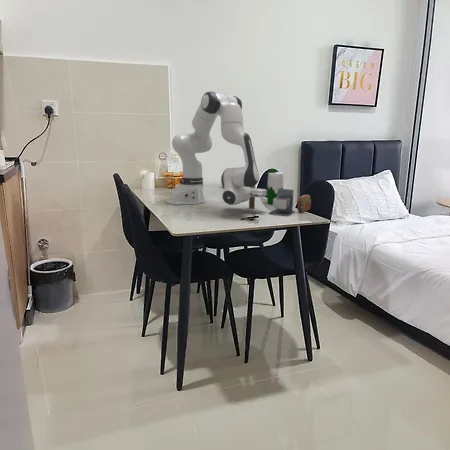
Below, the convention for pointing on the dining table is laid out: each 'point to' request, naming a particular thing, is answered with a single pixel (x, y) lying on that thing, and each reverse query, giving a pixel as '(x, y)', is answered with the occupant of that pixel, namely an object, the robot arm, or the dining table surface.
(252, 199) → the brown wooden rod
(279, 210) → the bracket
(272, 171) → the milk carton
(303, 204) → the tin
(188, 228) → the dining table surface
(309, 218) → the dining table surface
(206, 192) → the dining table surface
